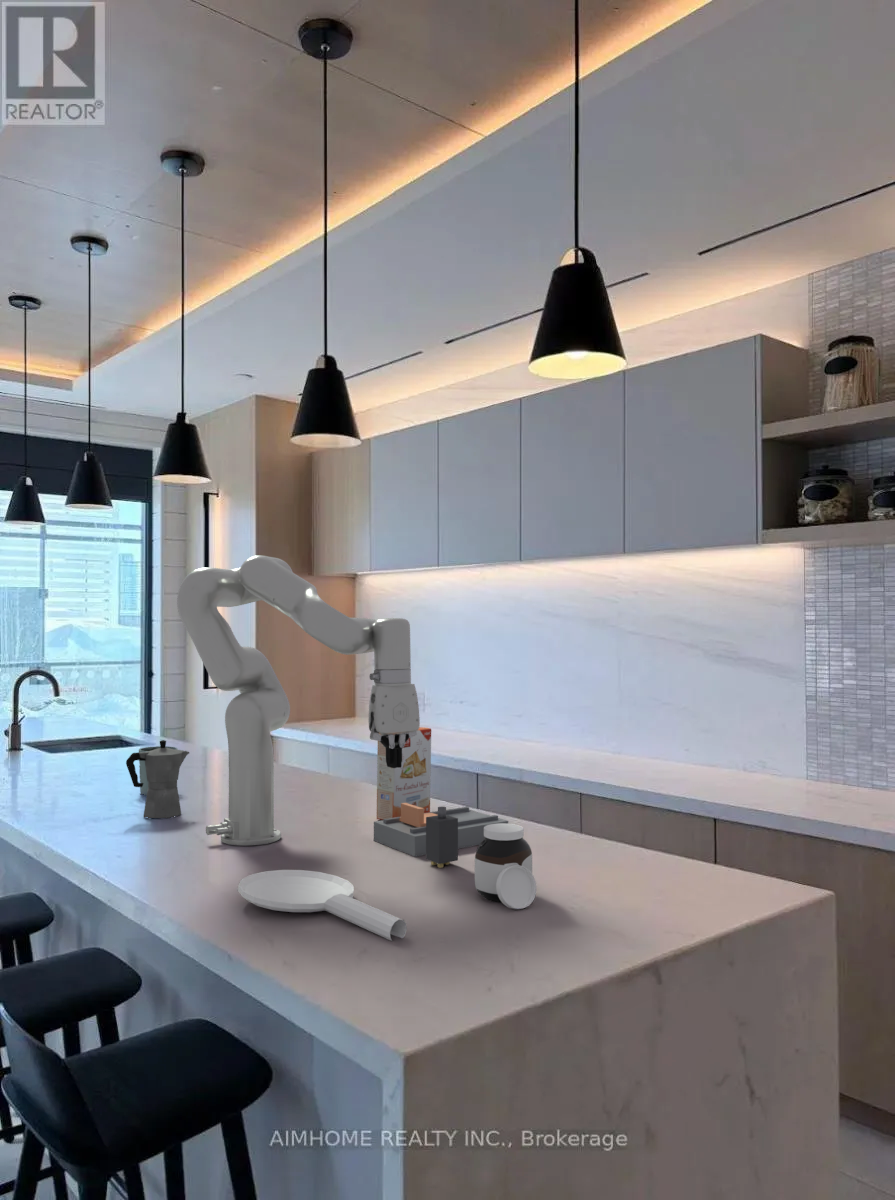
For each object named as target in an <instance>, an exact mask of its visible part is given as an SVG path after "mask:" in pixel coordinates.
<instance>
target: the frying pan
mask: <svg viewBox="0 0 895 1200" xmlns="http://www.w3.org/2000/svg"><path fill="white" fill-rule="evenodd" d="M239 881H240V882H239V883H238V886H237V891H238V893H239V894H240V895H241V897H242V898H243V899H244V900H246V901H247V902H249V903H252V904H253V905H255V906H257V907H260V908H262V909H263V908H264V909H268V910H272V911H279V912H287V913H288V912H289V913H314V912H315V913H316V912H322V911H326V912H327V913H330V914H332V915H334V916H336V917H338V918H341V919H343V920H345V921H347V922H349V923H352V924H354V925H356V926H359V927H360V928H362V929H364V930H367V931H369V932H371V933H374V934H376V935H378V936H379V937H382V938H384V939H385V940H389V941H391V942H393V940H392V938H391V936H395V937H397V938H401V939H404V937H405V936H406V934H407V927H408V926H407V923H406V921H405V920H404V919H402V918H401V917H398V916H396V915H393V914H390V913H388V912H386V911H384V910H382V909H379V908H377V907H374V906H373V905H372V906H371V905H370V904H367V903H366V902H362V901H361V900H358V899H356V898H354V893H355V891H354V889H355V886H354V885H353V883H351V882H350V881H349V880H347V879H346V878H342V877H340V876H338V875H336V874H330V873H325V872H321V871H316V870H315V871H314V870H303V869H278V870H277V869H276V870H267V871H261V872H257V873H256V872H255V873H252V874H249V875H247V876H245V877H243V878H242V879H241V880H239Z"/></svg>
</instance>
